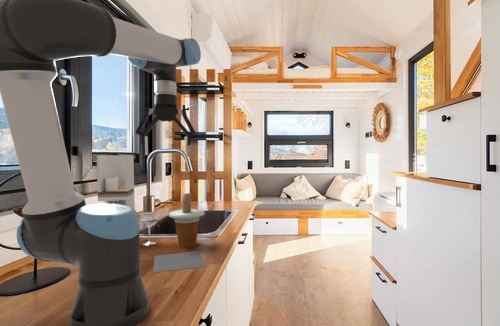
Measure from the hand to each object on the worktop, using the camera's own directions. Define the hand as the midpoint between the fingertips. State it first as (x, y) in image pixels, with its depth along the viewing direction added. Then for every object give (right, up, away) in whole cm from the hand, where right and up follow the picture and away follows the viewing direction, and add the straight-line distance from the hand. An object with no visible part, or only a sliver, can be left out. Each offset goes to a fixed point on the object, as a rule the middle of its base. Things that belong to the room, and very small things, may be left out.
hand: (166, 154), depth 102 cm
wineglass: (-10, -35, +10) cm, 37 cm away
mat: (+7, -35, -10) cm, 37 cm away
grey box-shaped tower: (-23, -35, +12) cm, 43 cm away
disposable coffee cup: (+6, -35, +6) cm, 36 cm away
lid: (+6, -23, +6) cm, 24 cm away
